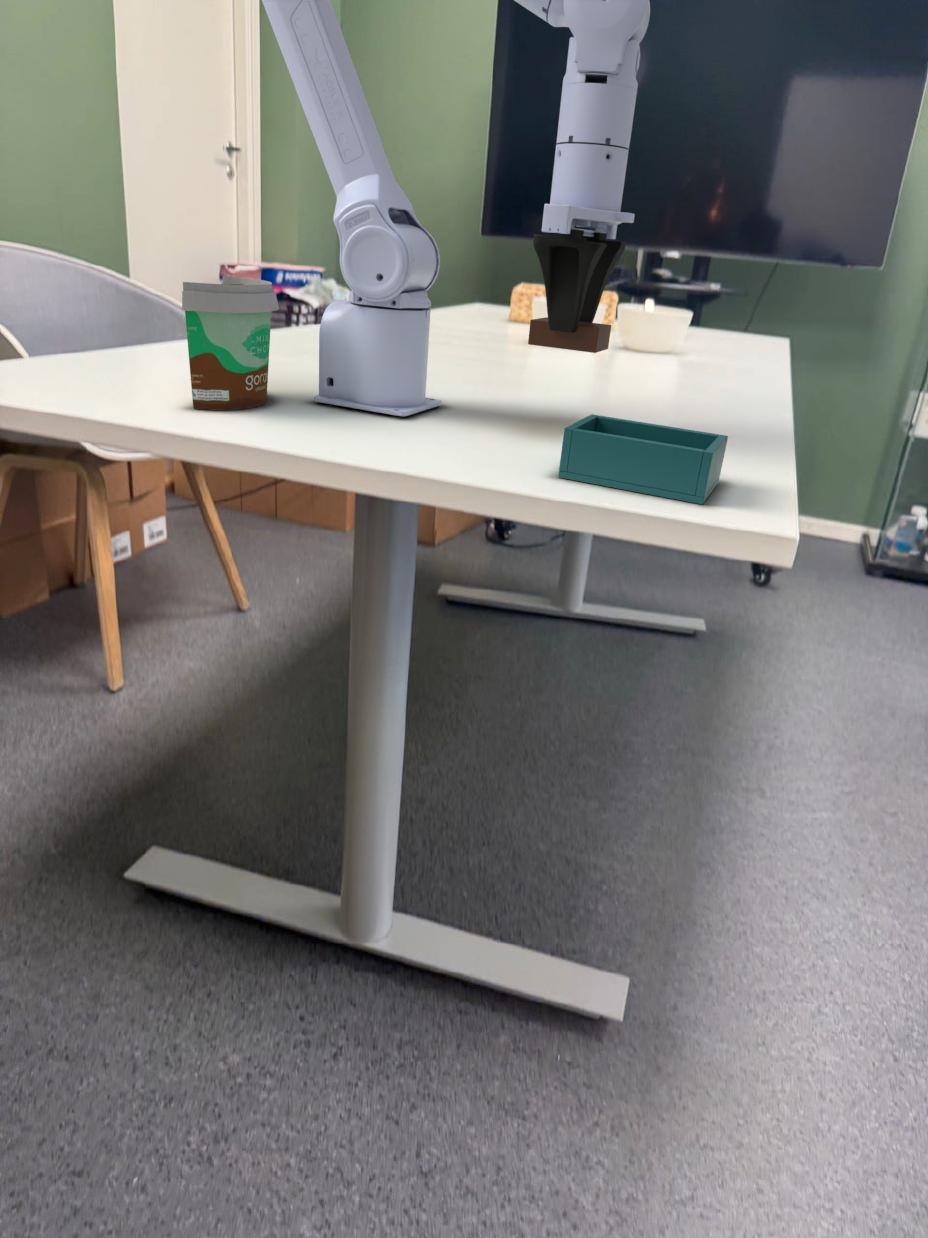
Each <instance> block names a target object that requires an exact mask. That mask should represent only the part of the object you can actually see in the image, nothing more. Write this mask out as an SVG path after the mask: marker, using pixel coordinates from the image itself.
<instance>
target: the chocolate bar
mask: <svg viewBox="0 0 928 1238" xmlns="http://www.w3.org/2000/svg"><path fill="white" fill-rule="evenodd" d="M611 330H612V325H611V324H608V323H607V324H606V323H599V322H593V323H590V322H581V321H579V323H578V326H577V328H576V330H575V332H573V333H571V332H562V331H554V330H550V328H549V322H548V316H547V317H540V318H534V319H530V322H529V332H528V340H527V341H528V342H527V344H528V345H529V346H538V347H545V348H554V349H561V350H569V351H576V352H585V353H593V354H597V353H600V352H602V351H606V350H608V349H609V345H610V337H611V332H612V331H611Z"/></svg>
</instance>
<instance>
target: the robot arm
mask: <svg viewBox="0 0 928 1238" xmlns="http://www.w3.org/2000/svg"><path fill="white" fill-rule="evenodd" d="M513 1H514V2H516V3H517V4H519V5H520V6H522V7H523V8H525V9H526V10H527V11H529V12H531V13H532V14H534V15H535V16H536V17H538V18H540V19H542V20H543V21H545V22H546V23H548V24H549V25H550V26H552V27H554V28H569V30H570V32H571V34H572V36H571V37H570V38H569V41H568V51H567V61H566V70H565V74H564V76H563V80H562V87H561V96H560V106H559V113H558V114H559V115H558V126H557V135H556V144H555V150H554V160H553V161H554V162H553V170H552V179H551V180H552V181H551V189H550V197H549V198H550V199H549V203H544V206H543V213H542V223H541V232H542V233H549V234H553V235H549V234H537V233H534V234H533V239H532V243H533V245H532V246H533V248H534V250H535V251H534V252H535V253H536V256H537V259H538V261H539V265H540V269H541V273H542V277H543V284H544V291H545V301H546V312H547V318H548V322H549V328H550V330H554V331H562V332H571V333H573V332H575V330H576V328H577V326H578V323H579V321H581V322H590V323H594V320H595V317H596V314H597V311H598V309H599V306H600V303H601V299H602V296H603V293H604V291H605V288H606V285H607V283H608V280H609V278H610V276H611V274H612V272H613V270H614V268H615V266H616V264H617V263H618V261H619V260H620V259H621V257H622V255H623V253H624V251H625V249H626V244H627V243H626V241H617V240H616V239H617V230H618V225H620V224H622V223H627V224H628V223H629V224H633V223H634V222H635V214H636V213H632V212H623V211H622V210H621V209H622V203H623V202H622V201H623V194H624V187H625V181H626V173H627V165H628V160H629V152H630V146H631V139H632V138H631V137H632V131H633V122H634V116H635V108H636V101H637V95H638V87H639V83H638V80H637V73H638V71H639V68H640V63H641V46H640V44H641V43H642V41H643V39H644V37H645V35H646V33H647V30H648V27H649V24H650V19H651V18H650V17H651V3H650V0H513ZM261 2H262V5H263V7H264V11H265V13H266V15H267V17H268V20H269V23H270V25H271V28H272V31H273V34H274V36H275V39H276V42H277V44H278V46H279V49H280V52H281V54H282V57H283V60H284V62H285V65H286V68H287V70H288V73H289V75H290V79H291V81H292V84H293V86H294V88H295V89H294V90H295V91H296V93H297V97H298V99H299V101H300V104H301V107H302V110H303V112H304V115H305V117H306V120H307V122H308V126H309V128H310V130H311V133H312V136H313V139H314V142H315V144H316V146H317V149H318V152H319V154H320V157H321V160H322V162H323V164H324V167H325V170H326V172H327V173H326V174H327V175H328V178H329V180H330V183H331V185H332V188H333V191H334V193H335V196H336V203H335V207H334V212H333V217H332V219H333V220H332V221H333V224H334V227H335V229H336V232H337V235H338V240H339V267H340V271H341V275H342V277H343V280H344V281H345V283H346V285H347V287H349V289H350V290H351V291H350V292H349V295H348V296H349V298H348V299H349V300H345V299H338V300H334V301H332V302H330V303H329V304H328V306H327V307H325V309H324V312H323V314H322V317H321V320H320V325H319V333H318V395H315V396H313V400H314V402H315V403H321V404H322V403H323V404H327V405H334V406H339V407H343V408H344V407H345V408H349V409H350V408H351V409H356V410H361V411H368V412H373V413H379V414H385V415H391V416H395V417H396V416H397V417H408V416H411V415H414V414H418V413H420V412H424V411H427V410H431V409H433V408H437V407H439V406H442V405H443V401H442V399H437V398H433V397H431V398H430V397H426V395H427V393H426V392H427V377H428V359H429V346H430V345H429V344H430V343H429V342H430V329H431V328H430V327H431V326H430V325H431V310H432V309H431V307H432V301H431V300H430V298H429V296H428V292H427V291H428V290H429V289H430V288H431V287H432V286H433V285H434V283H435V281H436V280H437V278H438V275H439V272H440V268H441V254H440V250H439V246H438V244H437V242H436V240H435V238H434V237H433V236H432V234H431V233H430V231H428V230H427V229H426V228H425V227H424V226H423V225H422V224H421V222H420V221H419V219H418V218H417V215H416V213H415V210H414V206H413V205H412V203H411V201H410V200H409V198H408V197H407V195H406V194H405V192H404V191H403V189H402V187H401V186H400V184H399V183H398V182H397V180H396V179H395V176H394V173H393V171H392V167H391V165H390V161H389V159H388V157H387V154H386V150H385V149H384V146H383V142H382V139H381V137H380V135H379V131H378V129H377V126H376V124H375V120H374V117H373V115H372V112H371V109H370V106H369V104H368V101H367V99H366V95H365V93H364V90H363V88H362V85H361V82H360V79H359V76H358V73H357V70H356V68H355V67H356V66H355V65H354V62H353V60H352V57H351V54H350V51H349V48H348V45H347V43H346V40H345V37H344V34H343V32H342V29H341V26H340V22H339V20H338V18H337V15H336V12H335V10H334V7H333V4H332V2H331V0H261ZM585 228H589V229H585ZM607 239H609V240H607Z"/></svg>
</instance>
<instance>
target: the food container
mask: <svg viewBox="0 0 928 1238" xmlns="http://www.w3.org/2000/svg"><path fill="white" fill-rule="evenodd" d="M181 294H182V295H181V310H182V311H184V314H185V315H184V316H185V327H186V328H185V329H186V338H187V350H188V361H189V363H188V365H189V374H190V385H191V387H190V388H191V397H192V408H193V409H194V410H205V411H206V410H209V411H210V410H213V411H215V410H216V411H222V410H223V411H228V410H230V411H231V410H244V409H252V408H258V407H261V406H263V405H266V404H267V402H268V401H267V400H268V399H267V398H268V381H269V363H270V347H271V328H272V327H271V324H272V312H276V311H279V310H280V307H279V302H278V297H277V293H276V290H274V289H273V283H272V282H271V281H270V280H269V281H268V280H264V279H258V278H250V277H243V276H242V277H241V276H233V275H232V276H231V275H222V283H207V282H191V281H182V290H181Z"/></svg>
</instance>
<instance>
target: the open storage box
mask: <svg viewBox="0 0 928 1238" xmlns="http://www.w3.org/2000/svg"><path fill="white" fill-rule="evenodd" d="M728 439H729V436H728V435H725V434H719V433H712V432H706V431H700V430H694V429H687V428H681V427H674V426H670V425H662V424H656V423H649V422H643V421H637V420H630V419H624V418H618V417H611V416H606V415H605V416H604V415H599V414H590V415H587V416H586V417H583V418H582V419H580V420H578V421H576V422H574V423H572V424H570V425H568V426H566V427H564V430H563V437H562V445H561V452H560V461H559V467H558V478H561V479H566V480H570V481H576V482H581V483H586V484H593V485H597V486H602V487H608V488H613V489H619V490H624V491H630V492H633V493H640V494H644V495H645V494H646V495H651V496H656V497H660V498H666V499H671V500H677V501H683V502H688V503H691V504H692V503H693V504H697V505H698V504H699V505H704V503H705V502H706V501H707V499H708V498H709V496H710V495H711V493H712V492H713V491H714V489H715V488H717V486H718V484H719V482H720V476H721V471H722V467H723V463H724V458H725V453H726V449H727V444H728Z"/></svg>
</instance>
